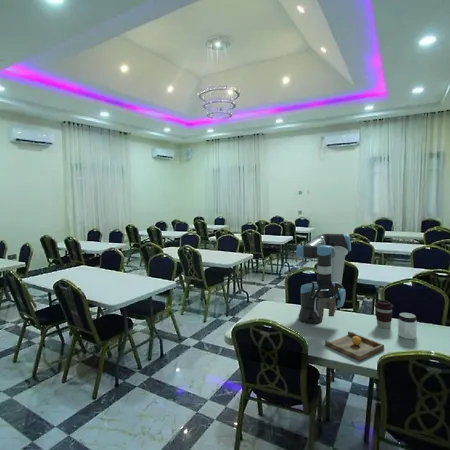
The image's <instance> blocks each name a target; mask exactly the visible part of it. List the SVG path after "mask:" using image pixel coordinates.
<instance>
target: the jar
mask: <svg viewBox="0 0 450 450" xmlns="http://www.w3.org/2000/svg"><path fill="white" fill-rule="evenodd" d="M397 322H398V324H397V325H398V326H397V327H398V329H397V331H398V332H397V333H398V334H397V335H398V336H399V337H401V338H403V339H405V340H407V339H408V340H415V338H417V332H418V331H417V328H418V327H417V323H418V321H417V316H416V315H415V314H413V313H409V312H400V313H399V315H398V321H397Z"/></svg>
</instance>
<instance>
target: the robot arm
mask: <svg viewBox="0 0 450 450" xmlns="http://www.w3.org/2000/svg"><path fill="white" fill-rule="evenodd" d="M351 251H352V244H351V236H350V235H349V234H348V233H322V234H318V235H317V236H314V237H313V238H312V239H311V241H309V242H308V243H306V244H305V245H297V247H296V251H295V252H296V254H295V255H296V257H297V258H300V259H301V258H302V259H315V260H317V262H316V263H317V264H316V265H317V267H316V269H317V280H316V281H311V282H310V283H305V284H302V285H301V287H300V309H299V313H298V320H299V321H300V322H301V321H302V322H301V323H304V322H305V324H308V323H310V324H311V325H313V324H320V323H322V322H323V321H322V320H323V319H324V316H323V317H318V316H317V313H316V299H315V298H316V296H317V294H318V293H319V291H320V290H329V291H330V292H331V294H332V295H334V296H335V298H336V300H335V308H339V309H340V308H342V307H343V306H344V304H345V300H346V296H347V295H346V292H347V291H346V289H345V288H344V286H343V285H342V281H343V274H344V267H345V258H346V255H348V253H349V252H351ZM315 290H317V291H316V292H315ZM335 313H336V310H335V311H334V314H335ZM310 324H309V325H310Z"/></svg>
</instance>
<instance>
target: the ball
mask: <svg viewBox="0 0 450 450" xmlns="http://www.w3.org/2000/svg"><path fill="white" fill-rule="evenodd" d="M352 343H353V344H354V345H360V344H361V339H360V338H359V337H358V336H354V337H353V338H352Z"/></svg>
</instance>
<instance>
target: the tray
mask: <svg viewBox="0 0 450 450" xmlns="http://www.w3.org/2000/svg"><path fill="white" fill-rule="evenodd" d="M354 336H358V337H359V338H360V339H361V344H360V345H354V344H353V343H352V338H353V337H354ZM324 345H325V346H326V347H328V348H331V349H333V350H334V351H337V352H338V353H341V354H343V355H345V356H347V357H350V359H351V358H352V359H354V360H355V361H358V362H362V361H364V360H366V359H367V358H369V357H371V356H374V355H375V354H378V353H380V352H382V351H384V350H385V345H384V344H383V343H380V342H378V341H375V340H373V339H371V338H367V337H365V336H362V335H360V334H357V333H354V332H352V331H350V330H349V331H347V334H346V335H344V336H341V337H339V338H337V339H335V340H332V341H329V340H327V339H325V340H324Z"/></svg>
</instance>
